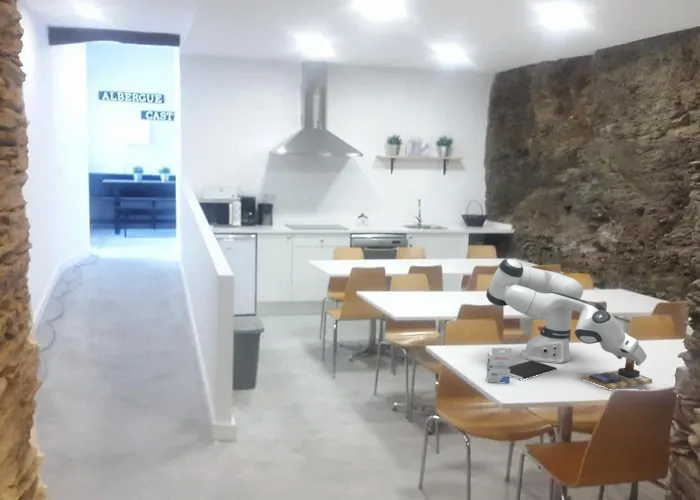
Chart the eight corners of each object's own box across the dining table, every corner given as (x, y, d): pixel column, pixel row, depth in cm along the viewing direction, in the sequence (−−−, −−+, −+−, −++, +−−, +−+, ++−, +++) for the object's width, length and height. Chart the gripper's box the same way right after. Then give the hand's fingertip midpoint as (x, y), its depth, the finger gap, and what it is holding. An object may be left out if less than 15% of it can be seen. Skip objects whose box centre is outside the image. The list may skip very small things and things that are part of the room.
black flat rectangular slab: (557, 371, 305) (558, 367, 305) (522, 382, 287) (522, 378, 287) (531, 363, 315) (532, 359, 314) (495, 373, 297) (496, 369, 296)
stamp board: (609, 390, 280) (610, 383, 280) (582, 379, 293) (583, 372, 292) (651, 382, 293) (652, 375, 293) (624, 372, 305) (624, 365, 305)
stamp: (629, 378, 292) (631, 357, 291) (617, 374, 297) (620, 353, 296) (639, 376, 295) (641, 356, 294) (627, 372, 300) (629, 352, 299)
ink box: (505, 379, 288) (508, 344, 286) (509, 383, 283) (512, 348, 281) (485, 378, 287) (488, 344, 285) (489, 383, 282) (492, 347, 280)
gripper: (592, 339, 296) (605, 359, 302) (632, 353, 279) (645, 373, 285) (600, 328, 298) (613, 348, 304) (641, 341, 280) (654, 362, 286)
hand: (629, 360), depth 294 cm, fingers open, 8 cm apart
